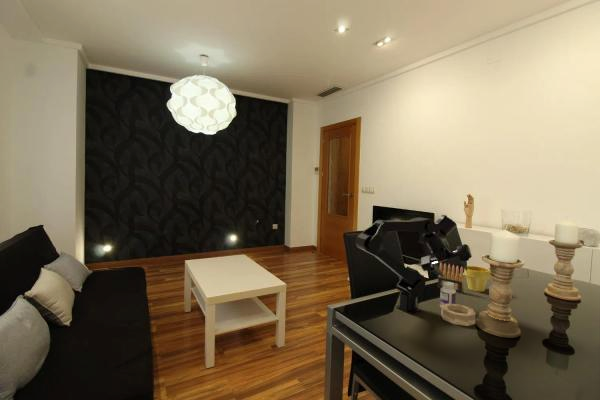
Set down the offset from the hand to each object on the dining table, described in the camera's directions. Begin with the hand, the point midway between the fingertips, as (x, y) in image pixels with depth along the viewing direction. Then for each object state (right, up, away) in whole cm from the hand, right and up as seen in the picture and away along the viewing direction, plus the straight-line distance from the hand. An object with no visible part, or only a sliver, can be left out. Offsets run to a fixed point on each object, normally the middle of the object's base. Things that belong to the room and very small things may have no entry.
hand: (454, 273), depth 120 cm
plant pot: (+19, -12, +18) cm, 29 cm away
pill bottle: (-5, -13, -4) cm, 14 cm away
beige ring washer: (-6, -13, -14) cm, 20 cm away
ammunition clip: (+7, -12, +17) cm, 22 cm away
